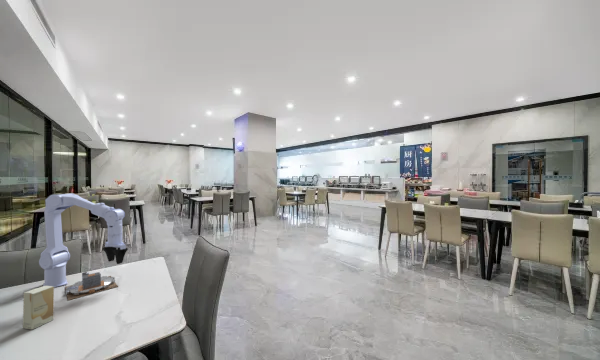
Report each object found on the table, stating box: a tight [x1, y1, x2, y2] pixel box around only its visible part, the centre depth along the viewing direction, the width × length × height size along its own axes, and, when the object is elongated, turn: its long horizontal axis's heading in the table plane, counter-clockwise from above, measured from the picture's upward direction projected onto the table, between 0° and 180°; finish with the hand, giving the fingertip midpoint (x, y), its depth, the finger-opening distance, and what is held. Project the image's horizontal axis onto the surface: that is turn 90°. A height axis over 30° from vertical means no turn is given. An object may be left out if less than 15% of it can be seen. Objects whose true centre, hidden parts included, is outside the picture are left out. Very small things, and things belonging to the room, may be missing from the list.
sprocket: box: [65, 271, 116, 295], centre depth 112 cm, size 18×18×6 cm
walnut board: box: [64, 275, 119, 301], centre depth 112 cm, size 18×17×1 cm
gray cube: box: [81, 271, 102, 290], centre depth 110 cm, size 4×6×5 cm, turn 138°
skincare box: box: [22, 286, 55, 330], centre depth 84 cm, size 6×4×12 cm
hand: (115, 262), depth 116 cm, fingers open, 7 cm apart
